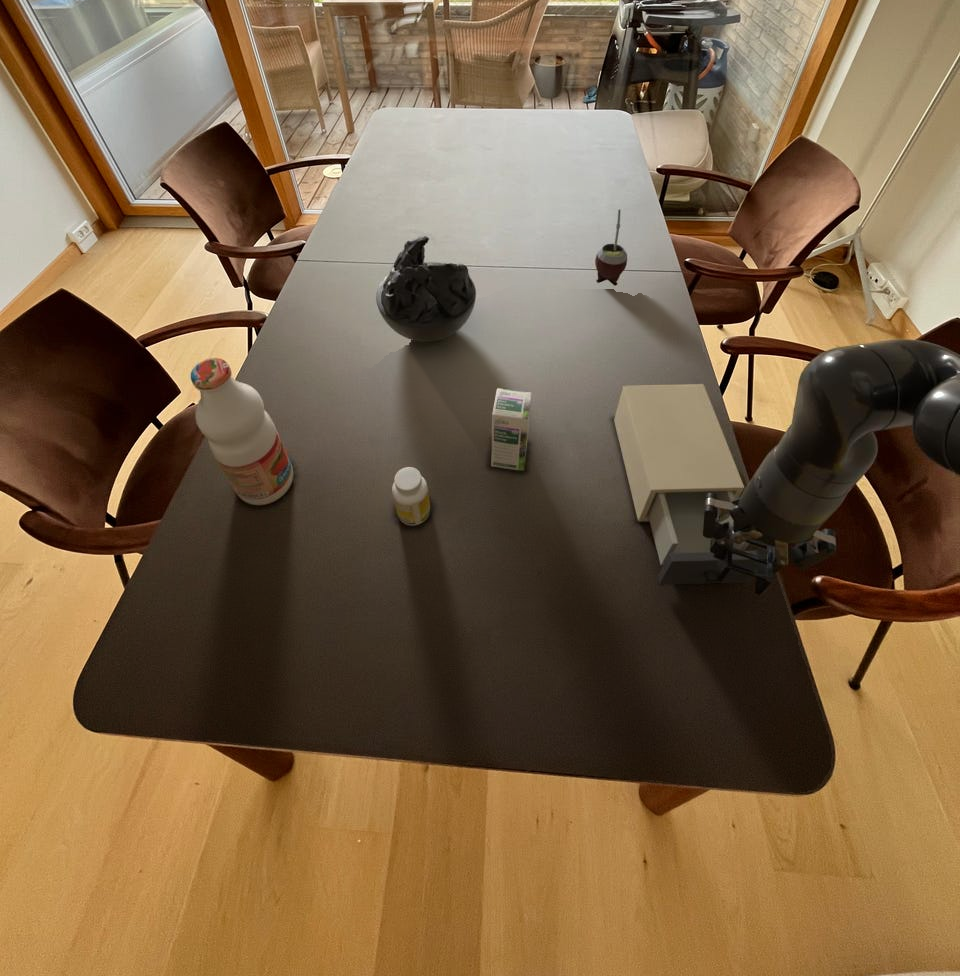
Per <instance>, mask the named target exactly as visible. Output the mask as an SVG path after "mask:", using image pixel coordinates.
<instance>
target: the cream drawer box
mask: <svg viewBox="0 0 960 976" xmlns="http://www.w3.org/2000/svg"><path fill="white" fill-rule="evenodd" d="M615 411H616V412H615V415H614V419H613V421H614V426H615V430H616V434H617V439H618V443H619V446H620V451H621V455H622V461H623V463H624V466H625V467H624V468H625V472H626V476H627V479H628V480H627V481H628V484H629V489H630V494H631V498H632V501H633V506H634V509H635V515H636V519H637V522H639V523H641V522H650V521H649V517H648V513H647V512H648V510H649V508H650V505H651V503H652V501H653V498H654V496H655V494H656V493H665V492H704V491H732V492H733V494H734V497H735V499H736V498H739V497H741V495H742V493H743V491H744V490H745V485H744V483H743V480H742V477H741V475H740V473H739V470H738V467H737V465H736V462H735V460H734V457H733V454H732V453H731V450H730V448H729V447H730V446H729V445H728V443H727V440H726V437H725V435H724V432H723V430H722V427H721V425H720V422H719V419H718V417H717V414H716V411H715V409H714V407H713V404H712V401H711V400H710V397H709V393H708V392H707V389H706V387H705V385H704V383H696V384H695V383H694V384H692V383H691V384H687V383H686V384H646V385H643V384H642V385H641V384H640V385H623V386H622V390H621V394H620V397H619V401H618V404H617V407H616V410H615Z"/></svg>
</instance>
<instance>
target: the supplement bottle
mask: <svg viewBox="0 0 960 976" xmlns="http://www.w3.org/2000/svg"><path fill="white" fill-rule="evenodd" d="M391 494H392V499H393V503H394V506H395V512H396V514H397V517H398V519H399V521H401V522H402V523H403V524H405V525H407V526H418V525H421V524H422V523H424V522H425V521H426V520H427V519H428V518H429V516H430V512H431V502H430V496H429V495H430V494H429V488H428V484H427V481H426V479H425V478H424V477H423V476H422V475H421V472H420V471H419V470H418V469H417V468H415V467H412V466H406V467H403V468H400V469H399V470H398V471H397V472H396V474H395V475H394V481H393V484H392V487H391Z"/></svg>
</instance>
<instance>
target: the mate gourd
mask: <svg viewBox="0 0 960 976" xmlns="http://www.w3.org/2000/svg"><path fill="white" fill-rule="evenodd" d="M621 211H622V210H621V209H617V222H616V225H615V228H616V229H615V236H614V237H615V238H614V243H607V244H604V245H602V246H601V247H600V248H599V249H598V251H597V253H596V255H595V260H594V264H595V269H596V271H597V272H596V273H597V279H596V283H597V284H600V283H603V282H605V281H608V282H609V283H611V284H612V285H613V286H618V284H619V283H618V280H619V279H620V276H621V275H622V274H623V273H624V271H625V270H626V267H627V264H628V253H627V251H626V249H625V248H624V247H623V246H622V245H619V244H618V239H619V232H620V229H621V224H620V223H621Z"/></svg>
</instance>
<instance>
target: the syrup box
mask: <svg viewBox="0 0 960 976" xmlns="http://www.w3.org/2000/svg"><path fill="white" fill-rule="evenodd" d="M532 394H533V393H532V392H531V391H527V392H526V391H520V390H516V389H508V388H507V389H506V388H500V387H497V388H496V392H495V398H494V402H493V403H494V404H493V408H492V413H491V458H490V466H491V467H493V468H494V467H495V468H500V469H506V470H507V469H508V470H514V471H521V472H523V471H525V465H526V464H525V463H526V457H527V447H528V437H529V429H530V428H529V426H530V416H531V405H532V397H533V396H532Z"/></svg>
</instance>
